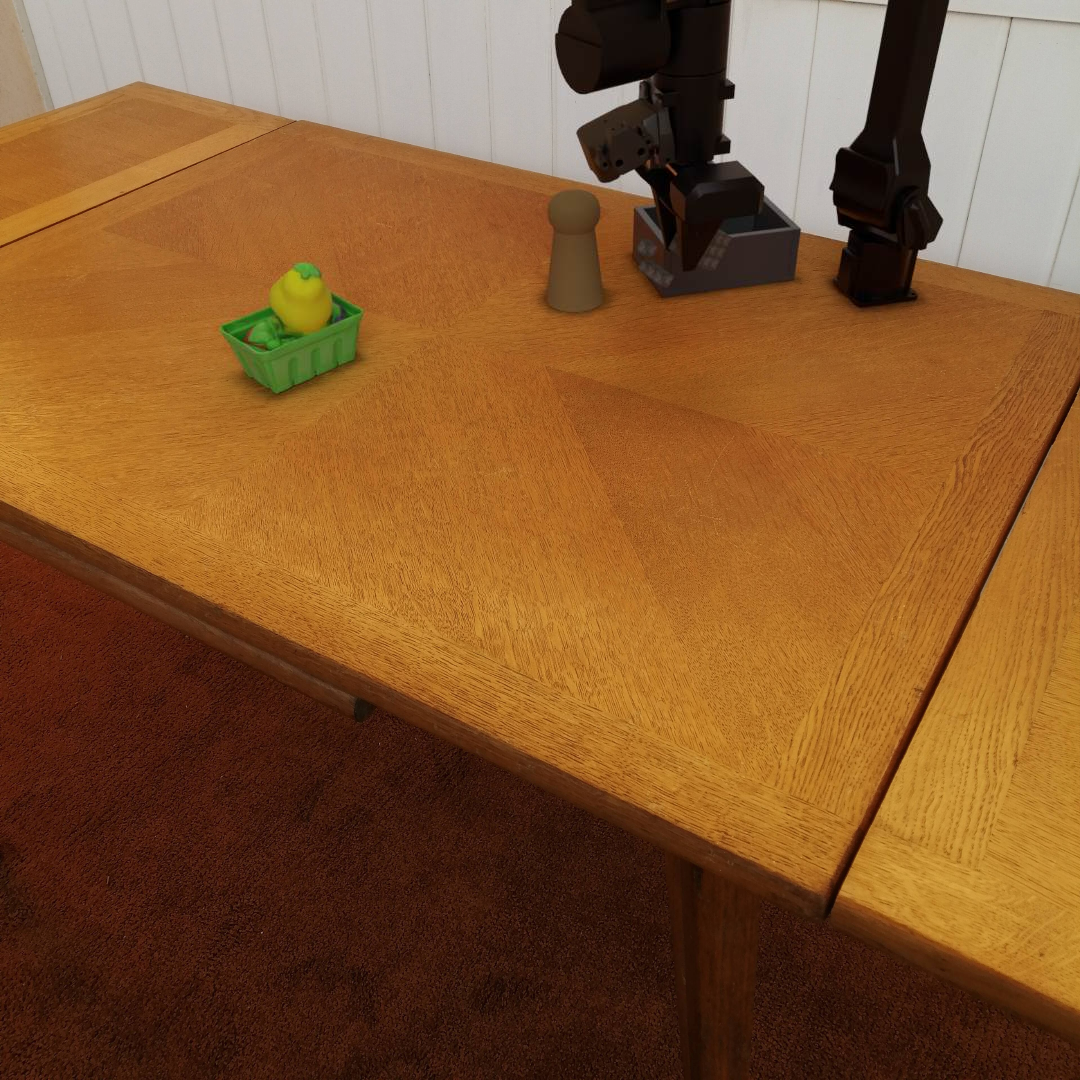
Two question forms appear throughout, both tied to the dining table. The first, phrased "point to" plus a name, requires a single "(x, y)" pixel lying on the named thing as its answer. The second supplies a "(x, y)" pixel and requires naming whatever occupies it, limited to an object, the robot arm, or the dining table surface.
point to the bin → (727, 252)
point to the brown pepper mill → (574, 252)
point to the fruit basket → (295, 331)
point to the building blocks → (664, 277)
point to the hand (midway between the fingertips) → (679, 260)
